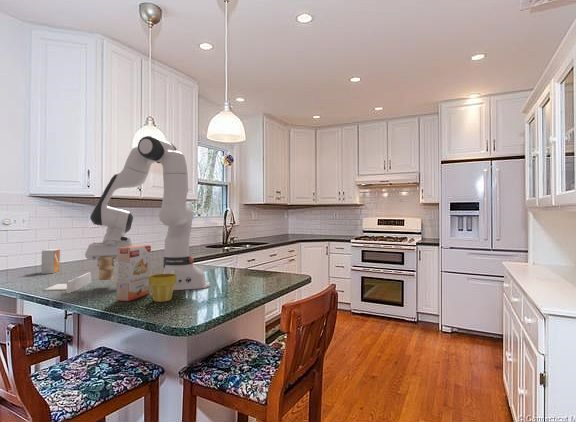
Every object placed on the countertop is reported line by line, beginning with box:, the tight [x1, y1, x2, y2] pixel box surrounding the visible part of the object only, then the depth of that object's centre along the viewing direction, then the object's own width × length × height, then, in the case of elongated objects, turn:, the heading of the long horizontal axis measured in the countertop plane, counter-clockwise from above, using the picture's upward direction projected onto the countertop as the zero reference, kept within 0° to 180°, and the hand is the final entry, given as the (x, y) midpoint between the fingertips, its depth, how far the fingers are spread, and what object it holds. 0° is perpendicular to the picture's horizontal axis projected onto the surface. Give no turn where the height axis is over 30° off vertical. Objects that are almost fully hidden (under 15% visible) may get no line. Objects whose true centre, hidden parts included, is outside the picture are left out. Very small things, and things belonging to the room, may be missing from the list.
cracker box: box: [116, 244, 152, 302], centre depth 142 cm, size 14×6×21 cm, turn 168°
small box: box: [40, 248, 61, 274], centre depth 199 cm, size 8×6×13 cm
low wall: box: [66, 272, 92, 294], centre depth 159 cm, size 1×24×5 cm, turn 10°
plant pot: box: [149, 273, 176, 303], centre depth 138 cm, size 10×10×10 cm
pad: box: [43, 283, 67, 292], centre depth 159 cm, size 11×12×1 cm
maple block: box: [98, 257, 115, 281], centre depth 161 cm, size 5×4×10 cm
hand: (105, 265), depth 161 cm, fingers closed on maple block, 5 cm apart
